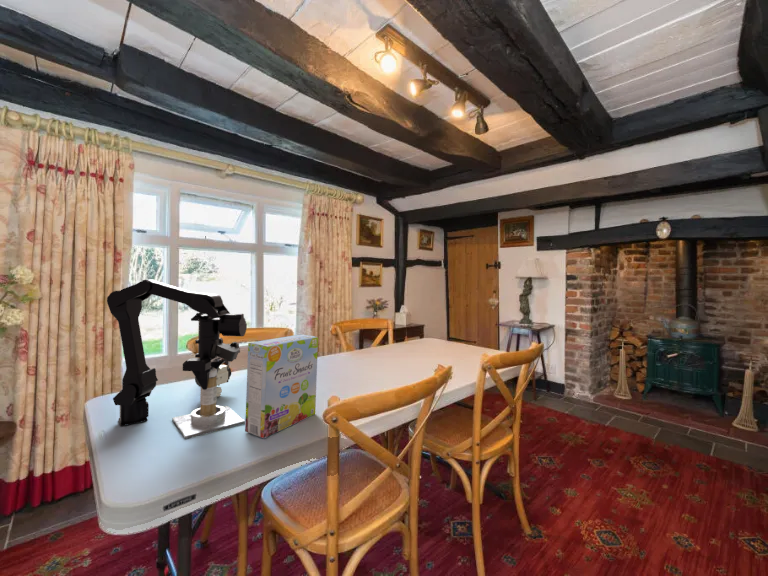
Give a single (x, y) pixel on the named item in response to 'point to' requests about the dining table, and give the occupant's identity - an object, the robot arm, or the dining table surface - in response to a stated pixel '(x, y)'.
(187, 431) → the duct flange
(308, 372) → the snack box
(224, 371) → the pneumatic valve
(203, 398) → the sprinkles bottle
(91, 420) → the dining table surface
